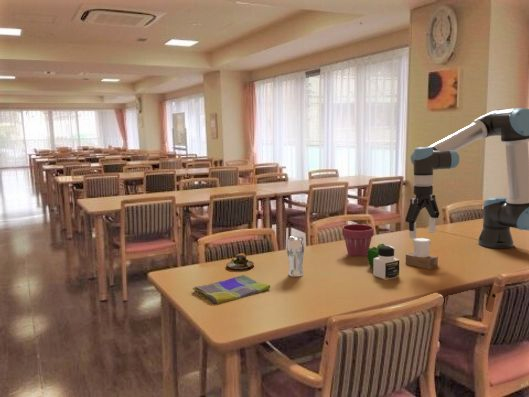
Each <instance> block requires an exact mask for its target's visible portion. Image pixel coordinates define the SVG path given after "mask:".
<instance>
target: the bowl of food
mask: <svg viewBox="0 0 529 397" xmlns="http://www.w3.org/2000/svg"><path fill="white" fill-rule="evenodd" d="M243 250H244V249H242V251H241V253H238V254H236V255H235V256H236V257H235V258H232V259H231V260H230V261H229V262H227V263H226V268H227V267H228V268H230V269H232V270H233V269H234V270H245V269H250V270H252V269H253V268H254V267H255V265H254V264H255V263H254V262H253V261H252V260H249V259H247V255H246V254H245V253H243V252H244V251H243Z"/></svg>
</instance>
